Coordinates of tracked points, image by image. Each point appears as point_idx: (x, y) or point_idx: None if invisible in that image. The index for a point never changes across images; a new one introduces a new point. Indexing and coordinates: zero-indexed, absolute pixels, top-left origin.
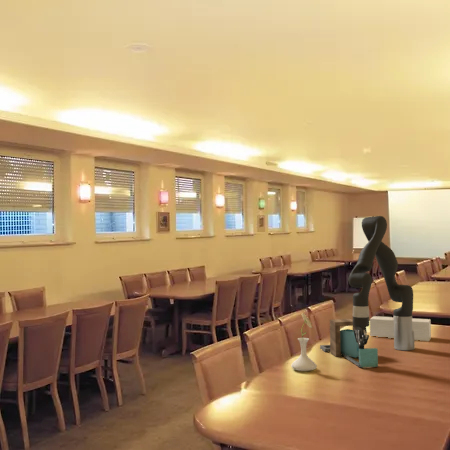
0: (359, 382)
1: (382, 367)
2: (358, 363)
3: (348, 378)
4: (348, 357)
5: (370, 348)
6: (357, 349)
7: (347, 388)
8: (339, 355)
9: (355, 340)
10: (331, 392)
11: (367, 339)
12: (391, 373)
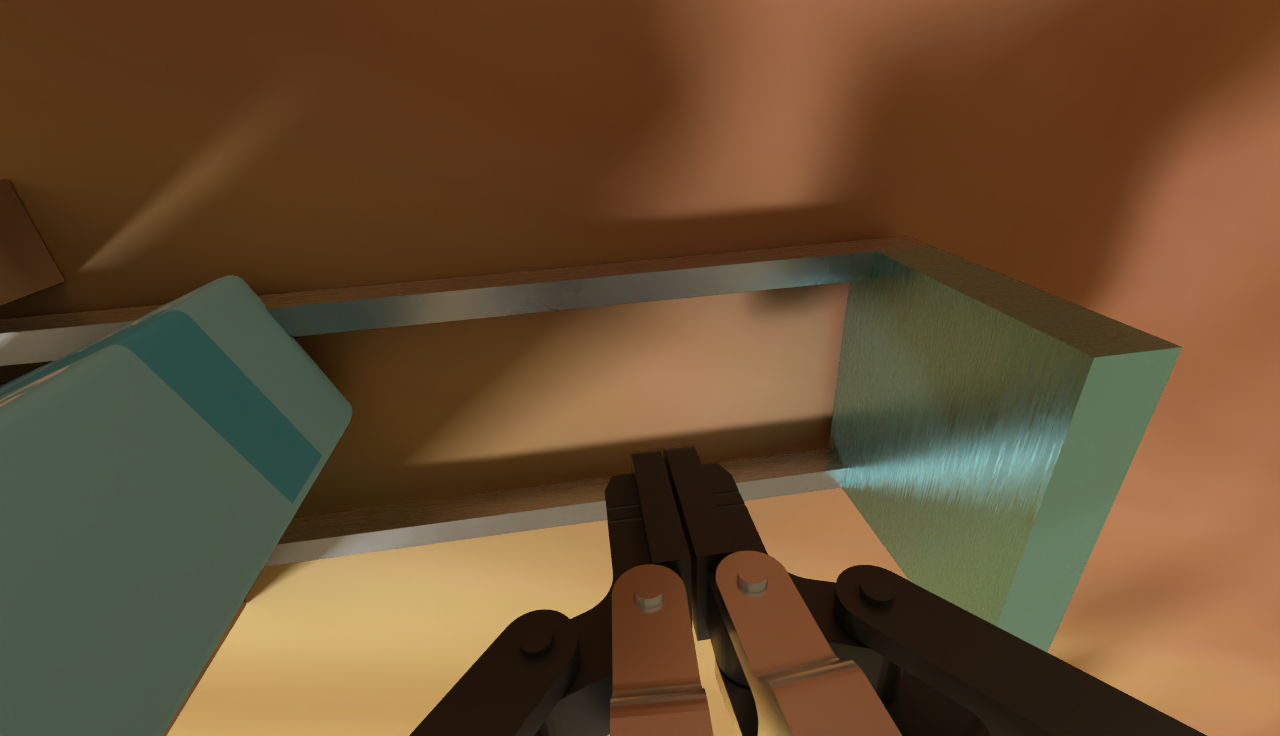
0: (1229, 548)
1: (904, 155)
2: (819, 489)
3: (1095, 600)
4: (462, 537)
5: (1070, 491)
6: (303, 471)
7: (1275, 633)
8: None
9: (179, 677)
10: (1267, 706)
11: (1142, 721)
12: (1207, 151)
